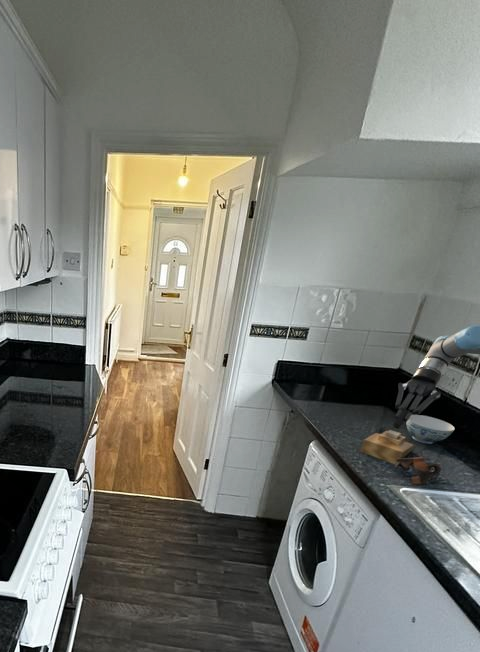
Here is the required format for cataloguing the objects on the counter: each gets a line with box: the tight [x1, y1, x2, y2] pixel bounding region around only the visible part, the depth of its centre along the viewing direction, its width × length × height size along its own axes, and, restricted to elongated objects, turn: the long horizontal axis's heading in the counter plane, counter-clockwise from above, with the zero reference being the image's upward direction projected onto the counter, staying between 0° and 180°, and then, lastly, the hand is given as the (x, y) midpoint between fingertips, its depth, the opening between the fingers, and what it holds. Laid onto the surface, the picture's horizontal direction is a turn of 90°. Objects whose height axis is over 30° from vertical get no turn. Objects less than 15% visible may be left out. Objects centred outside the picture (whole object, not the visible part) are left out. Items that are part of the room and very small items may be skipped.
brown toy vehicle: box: [393, 456, 442, 485], centre depth 132 cm, size 12×10×8 cm
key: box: [385, 429, 402, 439], centre depth 146 cm, size 4×4×2 cm
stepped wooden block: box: [359, 430, 414, 465], centre depth 146 cm, size 12×11×7 cm
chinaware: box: [405, 414, 455, 445], centre depth 161 cm, size 15×15×8 cm
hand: (396, 426), depth 145 cm, fingers closed
